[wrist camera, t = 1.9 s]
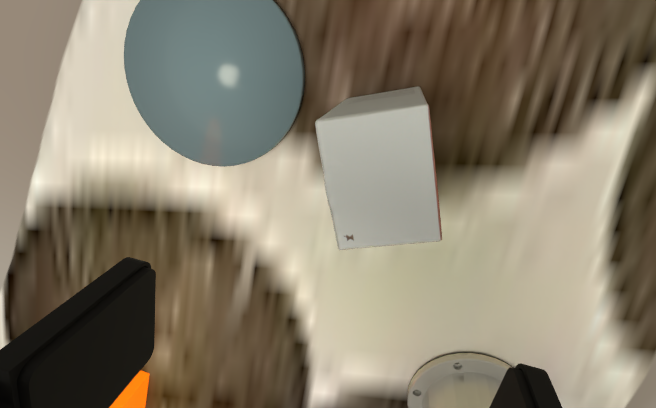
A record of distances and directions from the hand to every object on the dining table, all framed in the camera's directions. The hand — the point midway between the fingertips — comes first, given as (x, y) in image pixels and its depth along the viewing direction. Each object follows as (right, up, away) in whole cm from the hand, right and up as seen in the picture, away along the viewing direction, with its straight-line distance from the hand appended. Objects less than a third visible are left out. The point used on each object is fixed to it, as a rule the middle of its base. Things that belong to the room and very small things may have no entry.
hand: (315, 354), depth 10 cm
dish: (-10, +15, +25) cm, 31 cm away
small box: (+6, +10, +24) cm, 27 cm away
